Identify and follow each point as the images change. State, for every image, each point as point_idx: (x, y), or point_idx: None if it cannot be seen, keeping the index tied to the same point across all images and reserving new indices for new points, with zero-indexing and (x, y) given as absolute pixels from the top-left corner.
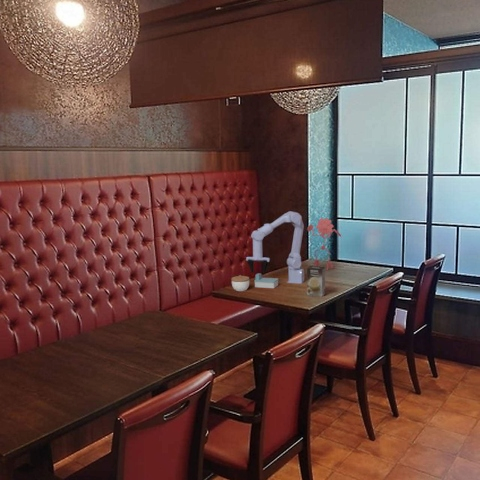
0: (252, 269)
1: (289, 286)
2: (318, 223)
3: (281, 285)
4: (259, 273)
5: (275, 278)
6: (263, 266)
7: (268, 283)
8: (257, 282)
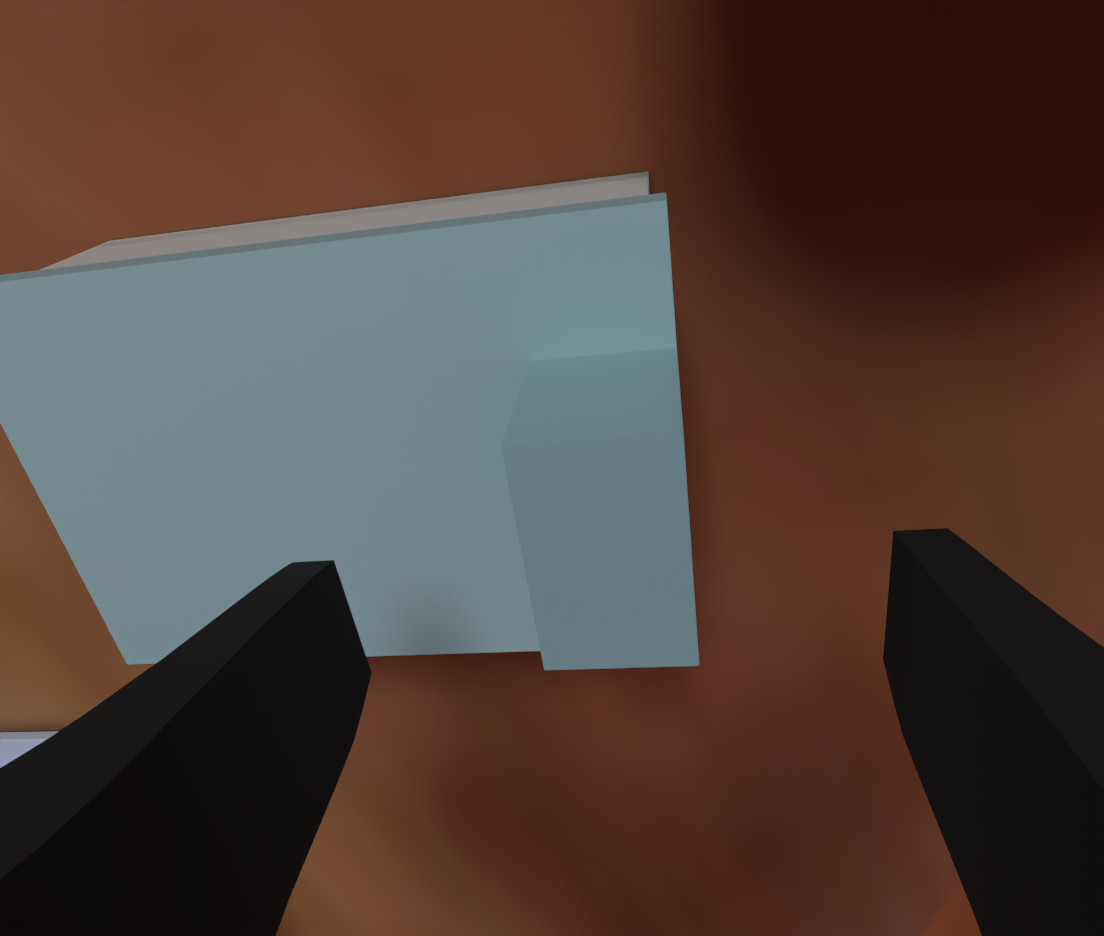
0: (941, 678)
1: (18, 569)
2: None
3: None
4: (623, 667)
5: None
6: (43, 802)
7: None
8: None
